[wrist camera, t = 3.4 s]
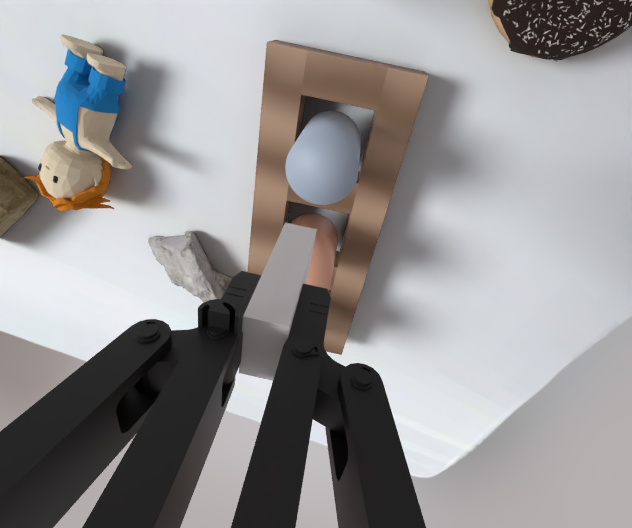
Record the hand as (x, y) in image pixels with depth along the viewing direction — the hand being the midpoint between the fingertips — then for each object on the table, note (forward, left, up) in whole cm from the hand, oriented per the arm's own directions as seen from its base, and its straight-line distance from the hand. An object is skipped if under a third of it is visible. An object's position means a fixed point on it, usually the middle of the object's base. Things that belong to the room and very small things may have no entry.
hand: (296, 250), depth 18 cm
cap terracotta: (+8, 0, -16) cm, 18 cm away
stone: (+17, -12, -19) cm, 29 cm away
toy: (+3, -22, -19) cm, 30 cm away
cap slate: (-1, 0, -16) cm, 16 cm away
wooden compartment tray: (+8, 0, -19) cm, 20 cm away
